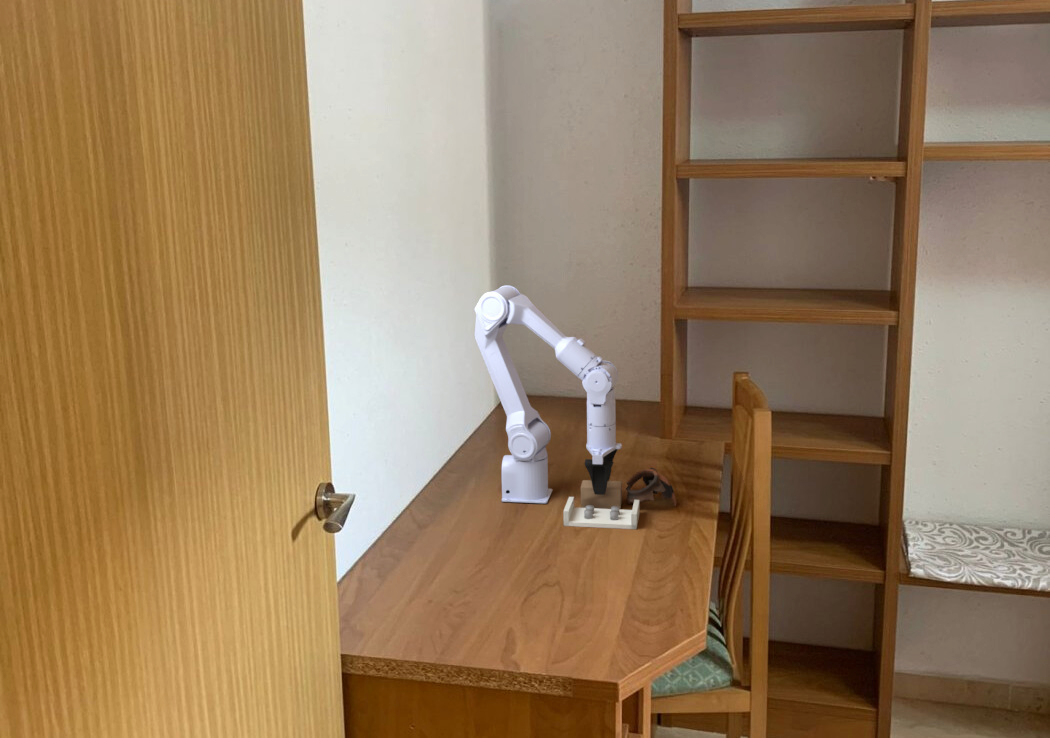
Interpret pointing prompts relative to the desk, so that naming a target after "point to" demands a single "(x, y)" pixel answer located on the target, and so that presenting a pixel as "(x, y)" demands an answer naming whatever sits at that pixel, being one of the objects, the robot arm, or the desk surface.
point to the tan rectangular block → (601, 501)
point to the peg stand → (600, 516)
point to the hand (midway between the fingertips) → (601, 487)
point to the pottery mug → (650, 487)
